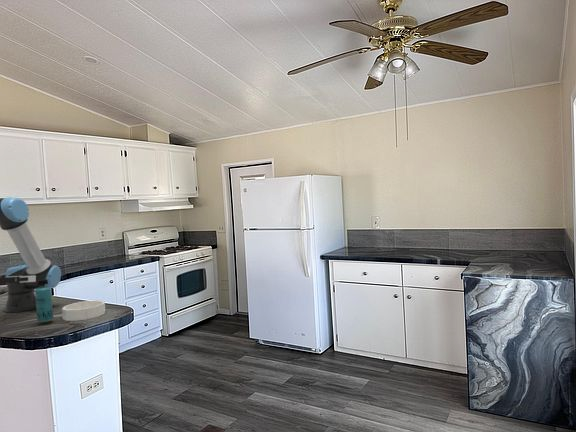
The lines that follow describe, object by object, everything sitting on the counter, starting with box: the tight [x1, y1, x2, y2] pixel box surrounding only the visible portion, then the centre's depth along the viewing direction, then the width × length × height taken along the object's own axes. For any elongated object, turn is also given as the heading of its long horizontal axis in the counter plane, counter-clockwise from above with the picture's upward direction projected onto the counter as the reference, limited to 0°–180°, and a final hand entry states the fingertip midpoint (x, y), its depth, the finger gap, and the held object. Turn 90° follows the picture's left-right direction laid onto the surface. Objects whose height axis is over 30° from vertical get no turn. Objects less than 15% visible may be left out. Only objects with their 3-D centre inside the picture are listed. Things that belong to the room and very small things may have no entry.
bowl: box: [61, 300, 106, 322], centre depth 199 cm, size 18×18×5 cm
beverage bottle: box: [34, 279, 54, 323], centre depth 188 cm, size 6×7×20 cm
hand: (28, 278), depth 185 cm, fingers open, 13 cm apart
